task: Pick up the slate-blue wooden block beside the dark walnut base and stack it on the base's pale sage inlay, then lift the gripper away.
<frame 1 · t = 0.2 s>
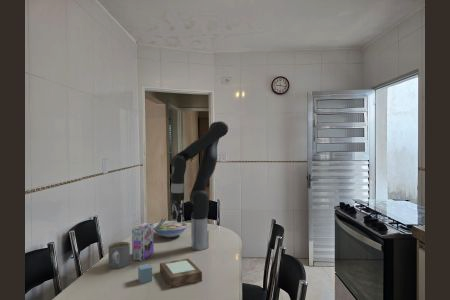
hand: (176, 220, 171), 17 cm above the table, tool pointing down, fingers open, 8 cm apart
slate block: (145, 280, 134), on the table
ramen bowl: (170, 236, 201), on the table
coffee mug: (117, 266, 150), on the table
walnut base: (180, 276, 138), on the table
candy box: (143, 256, 164), on the table
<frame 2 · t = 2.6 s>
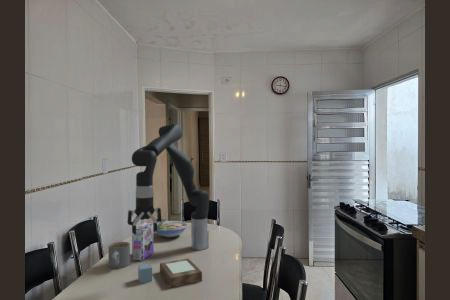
hand: (144, 232, 134), 21 cm above the table, tool pointing down, fingers open, 8 cm apart
nothing on the table moved.
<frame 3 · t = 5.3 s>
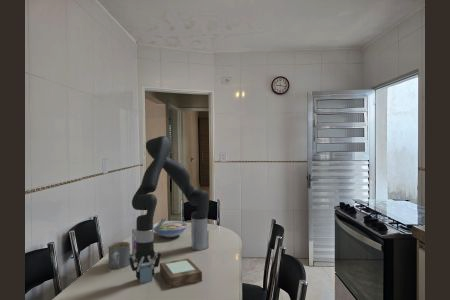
hand: (145, 277, 134), 1 cm above the table, tool pointing down, fingers closed on slate block, 5 cm apart
slate block: (145, 280, 134), on the table, touching gripper
everything else where it was.
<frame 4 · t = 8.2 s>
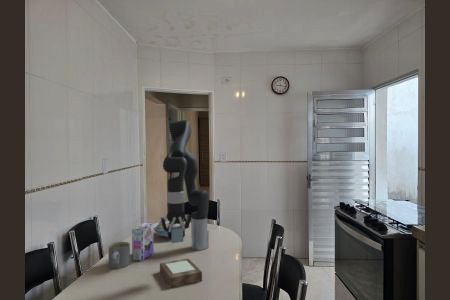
hand: (176, 238, 138), 17 cm above the table, tool pointing down, fingers closed on slate block, 5 cm apart
slate block: (176, 240, 138), point 16 cm above the table, touching gripper
everything else where it was.
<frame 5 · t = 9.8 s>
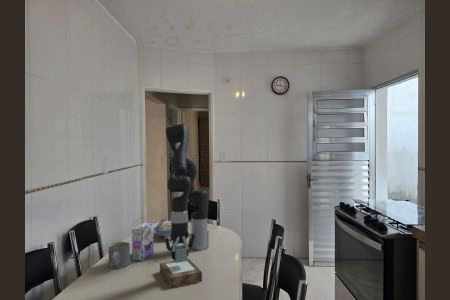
hand: (179, 258, 138), 8 cm above the table, tool pointing down, fingers closed on slate block, 5 cm apart
slate block: (179, 260, 138), point 7 cm above the table, touching gripper
everything else where it was.
when the fingers open (7 cm above the table, at t = 11.0 s): slate block drops 1 cm, resting on walnut base.
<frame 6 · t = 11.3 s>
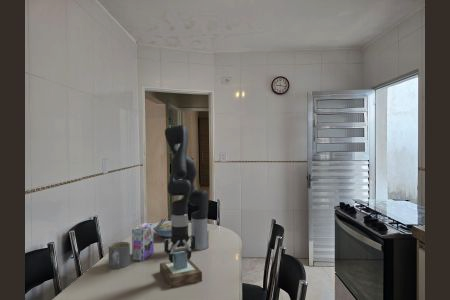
hand: (180, 260, 138), 7 cm above the table, tool pointing down, fingers open, 7 cm apart
slate block: (180, 266, 138), point 4 cm above the table, touching walnut base
everything else where it was.
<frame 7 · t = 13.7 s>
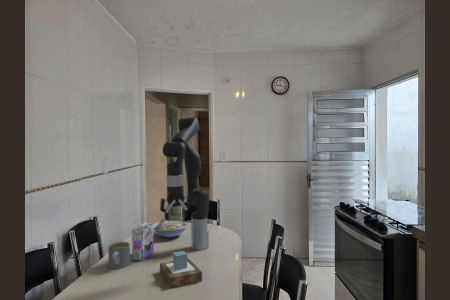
hand: (176, 219, 144), 24 cm above the table, tool pointing down, fingers open, 8 cm apart
nothing on the table moved.
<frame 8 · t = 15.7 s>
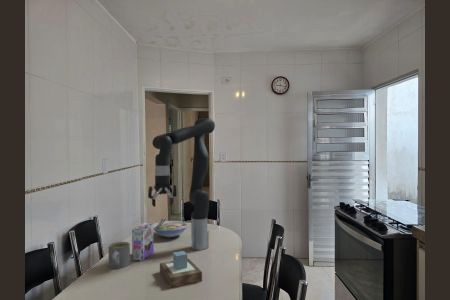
hand: (162, 205, 158), 28 cm above the table, tool pointing down, fingers open, 8 cm apart
nothing on the table moved.
at the end: slate block inside the target area on the walnut base (0.1 cm from its centre), point 4.3 cm above the walnut base's base; slate block tilted 0°; the gripper is holding nothing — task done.
